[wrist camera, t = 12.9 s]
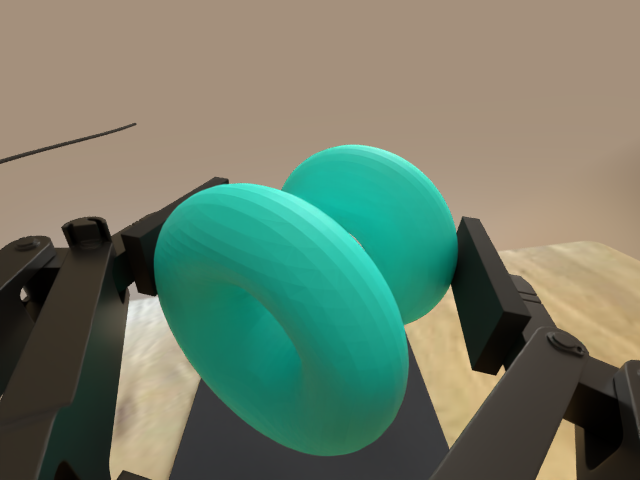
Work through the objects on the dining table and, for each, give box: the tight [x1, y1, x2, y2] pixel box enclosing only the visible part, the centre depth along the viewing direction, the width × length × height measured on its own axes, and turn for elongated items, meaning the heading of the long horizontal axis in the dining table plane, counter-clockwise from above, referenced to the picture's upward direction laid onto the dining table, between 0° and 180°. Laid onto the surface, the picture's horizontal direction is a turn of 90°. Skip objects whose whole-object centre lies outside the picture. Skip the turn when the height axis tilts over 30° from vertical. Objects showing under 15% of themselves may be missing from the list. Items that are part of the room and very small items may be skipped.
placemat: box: [169, 332, 449, 480], centre depth 26 cm, size 20×20×1 cm
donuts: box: [154, 145, 458, 456], centre depth 13 cm, size 10×10×10 cm
